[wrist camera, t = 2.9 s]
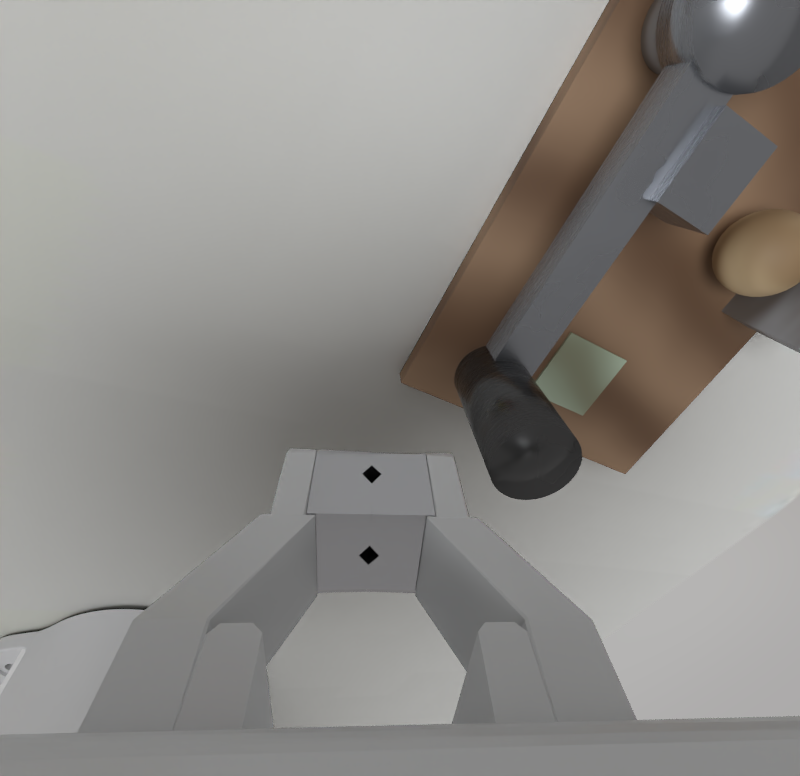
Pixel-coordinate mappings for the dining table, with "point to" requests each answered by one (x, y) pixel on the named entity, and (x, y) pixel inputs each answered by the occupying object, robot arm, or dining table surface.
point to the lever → (630, 218)
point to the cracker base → (629, 259)
